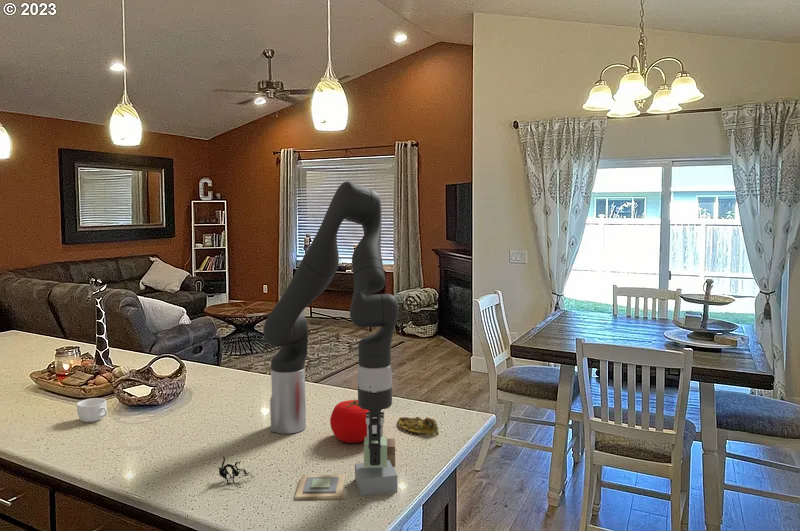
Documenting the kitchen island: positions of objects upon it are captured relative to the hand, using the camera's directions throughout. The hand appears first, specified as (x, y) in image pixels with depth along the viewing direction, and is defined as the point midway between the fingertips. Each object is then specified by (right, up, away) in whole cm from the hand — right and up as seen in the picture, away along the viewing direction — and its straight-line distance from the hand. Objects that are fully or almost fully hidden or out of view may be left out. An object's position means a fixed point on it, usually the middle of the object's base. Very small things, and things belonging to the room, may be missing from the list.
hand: (375, 458), depth 130 cm
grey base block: (0, -6, +1) cm, 6 cm away
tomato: (-7, -4, +27) cm, 28 cm away
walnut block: (+2, -5, +13) cm, 14 cm away
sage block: (0, -1, 0) cm, 1 cm away
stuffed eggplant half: (+10, -3, +35) cm, 37 cm away
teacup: (-84, -3, +42) cm, 94 cm away
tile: (-12, -6, -1) cm, 14 cm away
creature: (-32, -6, +3) cm, 33 cm away
